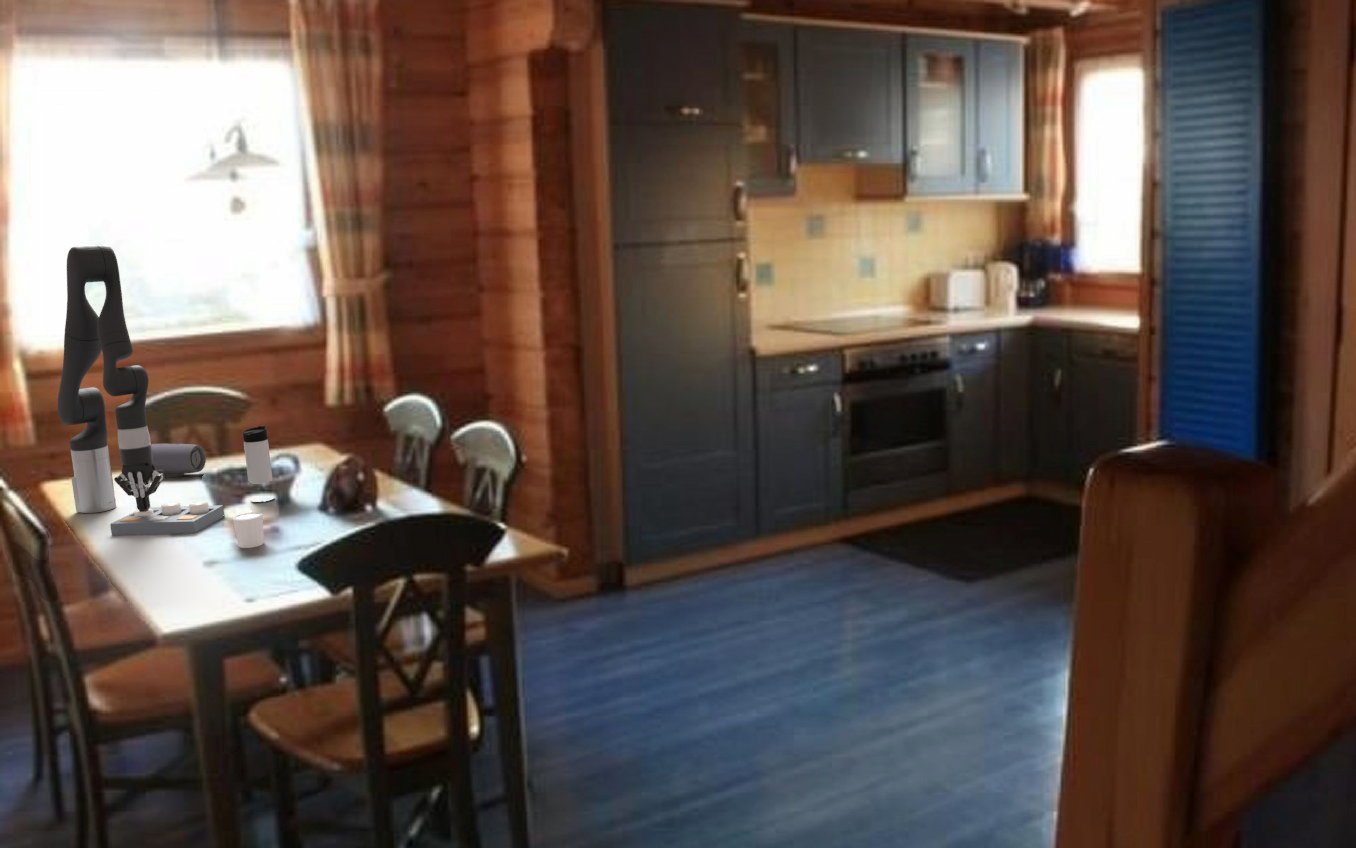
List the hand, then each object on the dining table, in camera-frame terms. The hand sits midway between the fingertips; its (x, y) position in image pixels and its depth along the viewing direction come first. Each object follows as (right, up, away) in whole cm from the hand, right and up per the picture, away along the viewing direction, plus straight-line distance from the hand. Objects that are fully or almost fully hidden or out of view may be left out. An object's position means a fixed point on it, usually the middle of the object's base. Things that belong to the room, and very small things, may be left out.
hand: (144, 510), depth 333 cm
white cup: (+36, -6, -25) cm, 44 cm away
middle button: (+7, -1, 0) cm, 7 cm away
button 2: (+15, -1, -1) cm, 15 cm away
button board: (+7, -4, -2) cm, 8 cm away
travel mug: (+24, +1, +21) cm, 32 cm away
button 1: (0, -3, +1) cm, 3 cm away
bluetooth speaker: (-18, +6, +61) cm, 64 cm away
